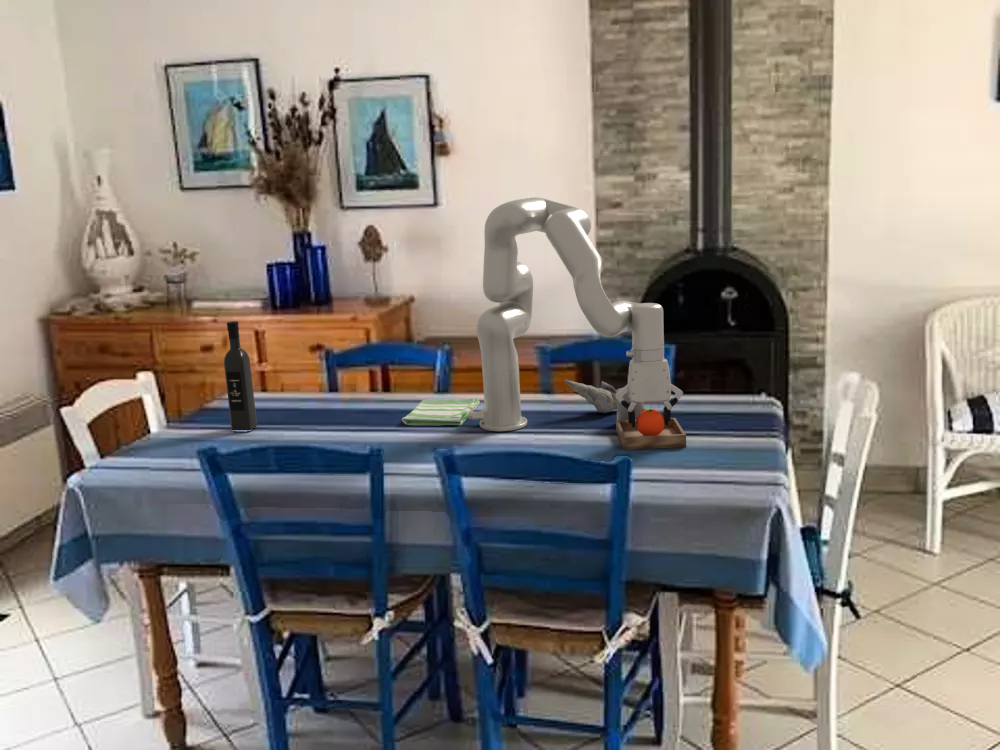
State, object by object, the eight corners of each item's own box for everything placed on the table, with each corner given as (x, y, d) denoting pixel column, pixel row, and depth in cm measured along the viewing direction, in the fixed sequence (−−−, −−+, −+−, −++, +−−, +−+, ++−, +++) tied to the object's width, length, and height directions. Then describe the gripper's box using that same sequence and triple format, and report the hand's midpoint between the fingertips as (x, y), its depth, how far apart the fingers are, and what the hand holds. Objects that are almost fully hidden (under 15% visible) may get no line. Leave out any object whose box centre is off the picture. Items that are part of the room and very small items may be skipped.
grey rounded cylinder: (618, 428, 263) (617, 394, 261) (615, 421, 270) (614, 388, 268) (646, 427, 263) (645, 393, 261) (642, 419, 270) (641, 386, 268)
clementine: (629, 433, 255) (628, 406, 253) (653, 430, 257) (653, 402, 255) (644, 442, 247) (644, 413, 246) (670, 438, 250) (670, 410, 248)
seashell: (628, 416, 274) (627, 379, 271) (564, 417, 276) (563, 380, 274) (629, 406, 283) (628, 371, 281) (568, 407, 286) (566, 372, 284)
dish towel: (481, 404, 296) (480, 395, 295) (463, 427, 273) (462, 417, 273) (421, 405, 299) (421, 395, 299) (399, 427, 277) (398, 417, 276)
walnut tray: (623, 450, 245) (623, 438, 244) (616, 432, 260) (616, 421, 259) (686, 446, 245) (686, 434, 244) (675, 429, 259) (675, 417, 259)
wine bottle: (249, 432, 278) (237, 323, 271) (230, 432, 279) (217, 324, 272) (258, 427, 283) (246, 320, 276) (239, 426, 284) (227, 320, 278)
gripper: (613, 359, 244) (615, 431, 248) (687, 356, 244) (687, 427, 248) (610, 353, 251) (612, 422, 255) (681, 349, 251) (682, 419, 255)
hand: (649, 424), depth 251 cm, fingers open, 7 cm apart
